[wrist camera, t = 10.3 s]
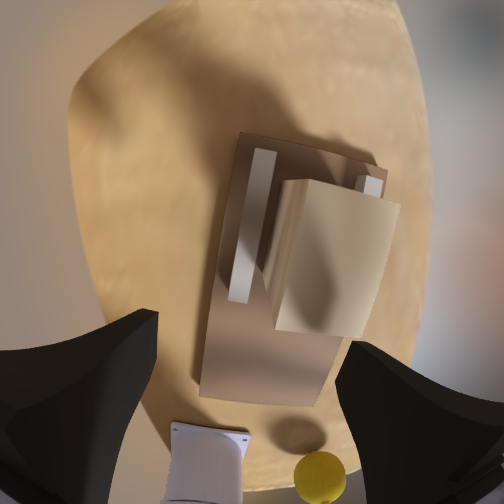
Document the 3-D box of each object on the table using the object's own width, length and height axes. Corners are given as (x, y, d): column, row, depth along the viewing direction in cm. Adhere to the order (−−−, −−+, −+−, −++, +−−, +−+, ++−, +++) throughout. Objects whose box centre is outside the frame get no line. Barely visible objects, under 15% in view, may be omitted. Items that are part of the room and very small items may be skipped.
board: (310, 398, 22) (317, 418, 19) (200, 387, 21) (196, 408, 19) (379, 170, 17) (399, 170, 15) (240, 135, 16) (239, 127, 14)
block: (342, 194, 16) (400, 204, 10) (321, 283, 18) (360, 338, 11) (281, 180, 16) (309, 178, 9) (262, 274, 18) (274, 329, 11)
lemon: (282, 449, 24) (290, 507, 16) (329, 432, 24) (347, 489, 16) (299, 466, 25) (308, 517, 18) (341, 451, 25) (357, 501, 17)
